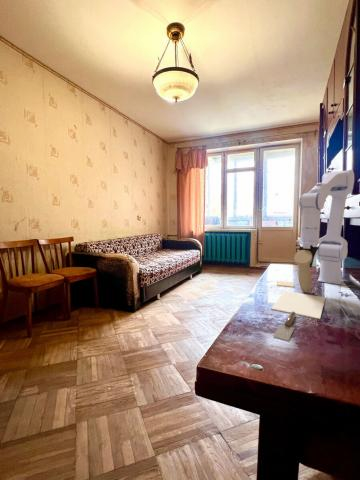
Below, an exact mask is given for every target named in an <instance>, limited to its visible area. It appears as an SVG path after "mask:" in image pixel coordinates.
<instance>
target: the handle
mask: <svg viewBox="0 0 360 480" xmlns="http://www.w3.org/2000/svg"><path fill="white" fill-rule="evenodd" d="M293 258H294V263H295V264H296V266H297V269H298V272H297V274H298V277H297V278H298V283H299V287H300V290H301V292H303V293H305V294H307V293H309V292H311V291H312V285H313V284H312V281H313V278H312V273H311V268H310V263H311V261H312V254H311V252H310V251H308V250H300V249H299V250H298V251H297V252H296V253H295V254H294V257H293Z"/></svg>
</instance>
